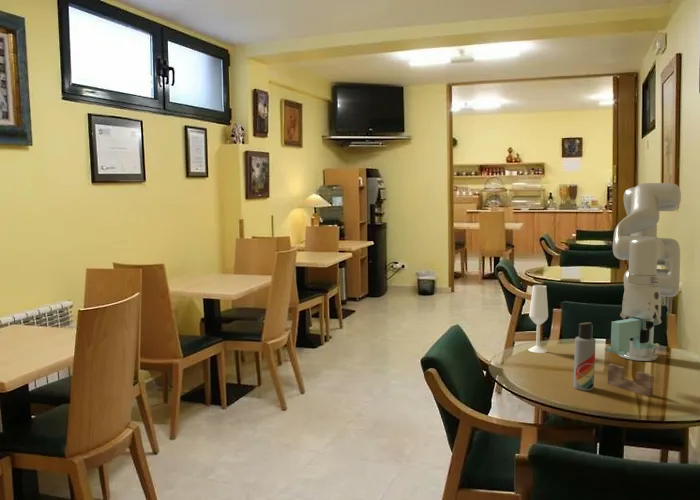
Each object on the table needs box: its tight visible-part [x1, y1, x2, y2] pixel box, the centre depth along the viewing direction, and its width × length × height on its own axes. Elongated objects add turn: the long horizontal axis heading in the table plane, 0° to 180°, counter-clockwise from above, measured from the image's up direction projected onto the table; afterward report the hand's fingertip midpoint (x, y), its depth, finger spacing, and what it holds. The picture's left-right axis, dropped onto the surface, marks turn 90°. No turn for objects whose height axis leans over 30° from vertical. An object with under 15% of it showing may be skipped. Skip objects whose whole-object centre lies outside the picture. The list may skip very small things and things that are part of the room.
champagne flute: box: [527, 284, 549, 354], centre depth 227 cm, size 7×7×24 cm
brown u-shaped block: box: [607, 363, 655, 397], centre depth 184 cm, size 14×2×6 cm, turn 30°
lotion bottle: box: [573, 321, 596, 392], centre depth 185 cm, size 6×6×20 cm
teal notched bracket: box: [604, 318, 657, 356], centre depth 182 cm, size 15×6×9 cm, turn 120°
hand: (639, 340), depth 184 cm, fingers closed on teal notched bracket, 2 cm apart
